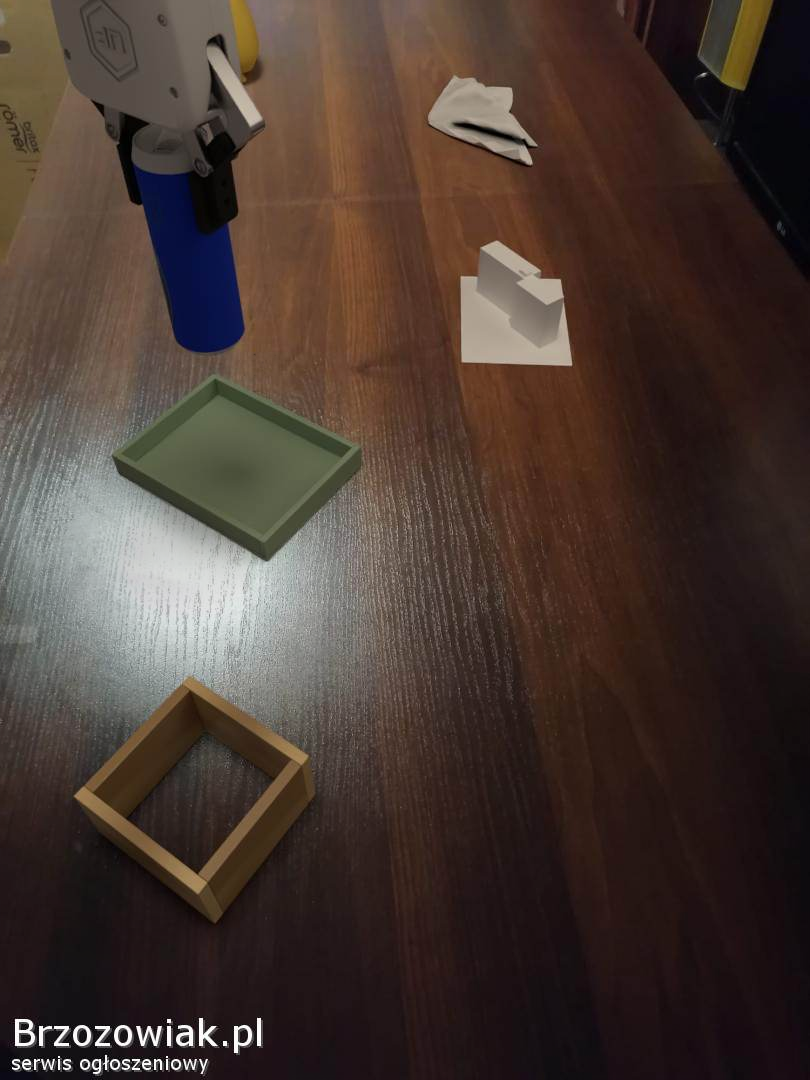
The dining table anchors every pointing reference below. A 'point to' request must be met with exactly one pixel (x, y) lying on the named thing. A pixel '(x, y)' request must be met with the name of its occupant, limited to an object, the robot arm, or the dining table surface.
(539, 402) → the dining table surface
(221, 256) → the beverage can
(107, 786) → the square frame
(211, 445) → the tray
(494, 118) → the cloth
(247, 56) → the teapot
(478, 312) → the napkin holder
